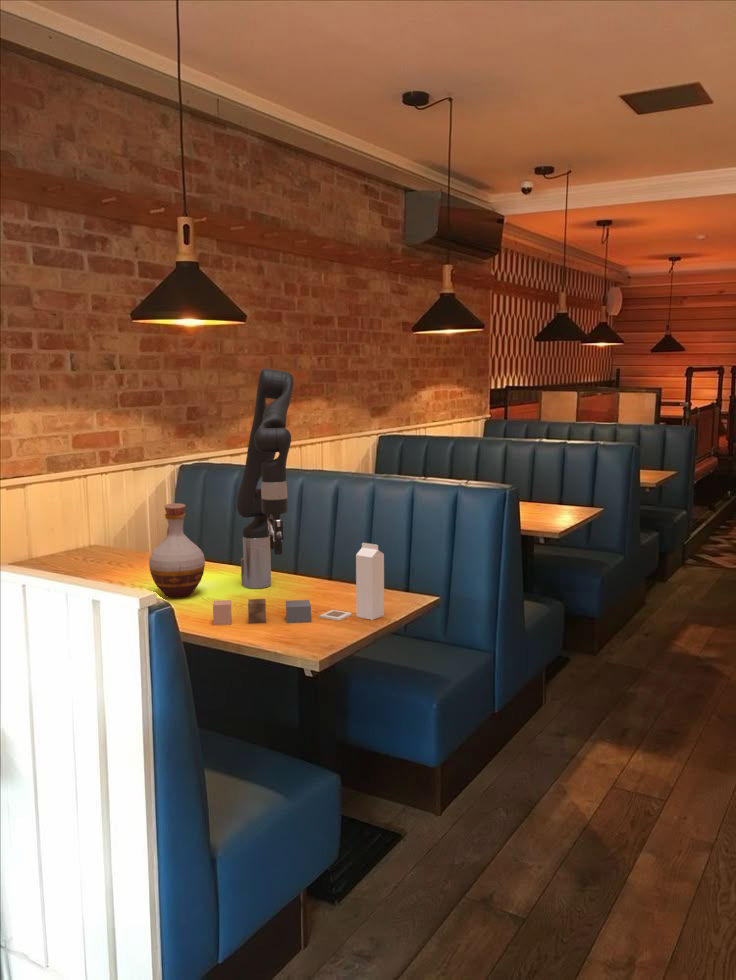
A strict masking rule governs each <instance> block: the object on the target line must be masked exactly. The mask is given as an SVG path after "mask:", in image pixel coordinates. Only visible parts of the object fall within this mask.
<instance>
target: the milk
mask: <svg viewBox="0 0 736 980" xmlns="http://www.w3.org/2000/svg"><path fill="white" fill-rule="evenodd" d="M355 580H356V582H355V583H356V584H355V590H356V592H355V593H356V594H355V595H356V597H355V600H356V603H355V604H356V607H355V608H356V617H357V618H361V619H366V620H369V619H370V621H374V620H376V619H379V618H382V617H384V616H385V553H383V552H382V551H380V550H379V544H374V543H368V542H362V543H361V548H360V549H359V550H358V551H357V553H356V555H355Z"/></svg>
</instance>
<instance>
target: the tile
mask: <svg viewBox="0 0 736 980" xmlns="http://www.w3.org/2000/svg"><path fill="white" fill-rule="evenodd" d="M352 615H353V612H348V611H342V610H335V609H331V610H329V611H326V612H325V613H322V614H320V615H319V618H320V619H327V620H332V621H337V622H338V621H343V620H345V619H347V618H348V617H351V616H352Z"/></svg>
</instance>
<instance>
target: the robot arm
mask: <svg viewBox="0 0 736 980" xmlns="http://www.w3.org/2000/svg"><path fill="white" fill-rule="evenodd" d="M256 388H257V389H256V397H255V405H254V406H255V408H254V413H253V420H252V425H251V429H250V434H249V440H248V444H247V453H246V454H247V455H246V459H245V465H244V470H243V473H242V474H243V475H242V477H241V482H240V486H239V489H238V492H237V497H236V498H237V499H236V510H237V513H238V515H239V516H240V517H242V518H253V520H252V521H251V522H250V523H249V524H248V525H246V526H244V527H243V528H242V555H243V557H241V559H240V571H241V575H240V576H241V586H243V587H245V588H247V589H264V588H269V587H271V586H272V563H271V561H272V560H271V559H272V558H271V550H273V551H274V552H273V553H274V555H277V556H278V555H282V554H283V541H284V539H285V537H284V520H283V519H282V518H281V515H282V514H287V513H288V510H289V509H288V508H289V506H288V485H287V461H288V460H287V459H288V455H289V452H290V448H291V444H292V433H291V432H290V430H289V429H287V417H288V416H287V415H288V410H289V408H290V405H291V399H292V395H293V390H294V376H293V375H292V373H291V372H287V371H283V370H276V369H271V368H262V370H260V372H259V376H258V381H257V387H256ZM266 399H271V400H273V401H271V402H270V403H269V404H268V405H267V402H266ZM277 453H278V456H276V454H277ZM260 480H261V487H260V488H257V486H258V484H259V482H260Z"/></svg>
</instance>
